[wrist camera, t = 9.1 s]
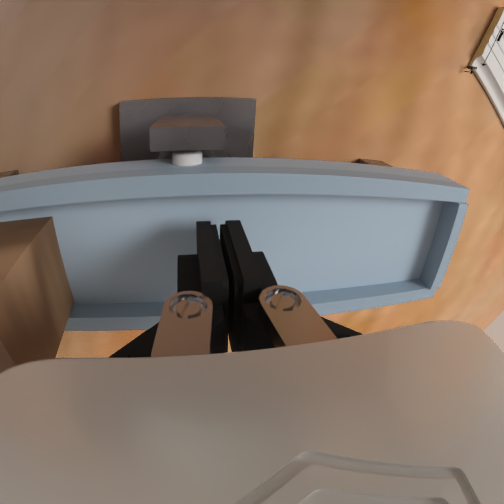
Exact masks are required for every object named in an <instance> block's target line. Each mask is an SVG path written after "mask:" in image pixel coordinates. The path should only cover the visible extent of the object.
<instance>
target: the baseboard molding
mask: <svg viewBox="0 0 504 504" xmlns="http://www.w3.org/2000/svg"><path fill="white" fill-rule="evenodd" d="M469 65H470V66H469ZM469 65H468V66H469V67H470V68H471V69H472V70H473V72H474V73H475V75H476V76H477V78H478V80H479V81H480V83H481V84H482V86H483V88H484V90H485V91H486V93H487V95H488V97H489V98H490V100H491V102H492V104H493V106H494V108H495V109H496V111H497V113H498V115H499V117H500V119H501V121H502V123H503V125H504V7H499V8H498V9H497V11H496V13H495V15H494V17H493V20H492V22H491V24H490V26H489V28H488V30H487V32H486V34H485V36H484V37H483V39H482V41H481V43H480V45H479V47H478V49H477V51H476V53H475V55H474V56H473V58H472V60H471V62H470V64H469ZM468 66H467V68H468V69H470V68H469V67H468ZM465 72H468V71H465ZM473 72H472V71H471V73H473ZM471 73H470V74H471Z"/></svg>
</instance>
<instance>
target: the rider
mask: <svg viewBox="0 0 504 504" xmlns="http://www.w3.org/2000/svg"><path fill="white" fill-rule="evenodd" d="M74 302H75V301H74V298H73V295H72V292H71V288H70V285H69V282H68V278H67V275H66V271H65V268H64V264H63V260H62V256H61V252H60V248H59V244H58V240H57V236H56V231H55V227H54V222H53V217H52V216H51V217H41V218H32V219H23V220H14V221H6V222H0V372H2V371H4V370H6V369H8V368H10V367H13V366H16V365H19V364H23V363H26V362H29V361H36V360H42V359H53V358H55V357H56V354H57V351H58V348H59V344H60V341H61V338H62V335H63V332H64V329H65V327H66V324H67V321H68V318H69V315H70V313H71V310H72V307H73V305H74Z"/></svg>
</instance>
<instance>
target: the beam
mask: <svg viewBox="0 0 504 504" xmlns="http://www.w3.org/2000/svg"><path fill="white" fill-rule="evenodd" d="M468 193H469V189H468V188H466V187H464V186H463V185H461V184H459V183H457V182H455V181H453V180H451V179H449V178H447V177H445V176H443V175H441V174H439V173H433V172H426V171H419V170H412V169H404V168H396V167H388V166H379V165H370V164H360V163H348V162H336V161H322V160H305V159H284V158H238V157H222V158H202V151H198V150H181V151H175V152H173V153H172V159H155V160H139V161H125V162H113V163H102V164H92V165H83V166H74V167H66V168H58V169H51V170H44V171H37V172H31V173H25V174H19V175H13V176H8V177H2V178H0V222H6V221H14V220H23V219H32V218H41V217H51V216H52V217H53V222H54V227H55V231H56V236H57V240H58V244H59V248H60V252H61V256H62V260H63V264H64V268H65V271H66V275H67V278H68V282H69V285H70V288H71V292H72V295H73V298H74V301H75V302H74V305H73V307H72V310H71V313H70V315H69V318H68V321H67V324H66V327H65V329H64V330H71V331H113V330H148V329H150V328H151V327H152V326H154V325H155V324H157V323H158V322H159V321H160V317H161V313H162V309H163V306H164V303H165V301H166V300H167V299H168V298H169V297H170V296H171V295H173V294H175V293H177V257H178V255H189V254H197V239H196V221H211V225H214V224H216V226H217V231H218V235H219V240H220V224H225V221H226V220H240V221H241V224H242V226H243V229H244V231H245V234H246V237H247V239H248V242H249V244H250V247H251V249H252V252H258V251H262V252H263V253H264V255H265V257H266V259H267V261H268V264H269V266H270V268H271V270H272V273H273V275H274V277H275V279H276V281H277V284H278V285H283V286H289V287H292V288H295V289H297V290H298V291H300V292H301V293H302V294H303V295H304V296H305V297H306V299H307V300H308V301H309V303H310V304H311V305H312V306H313V308H314V309H315V310H316V312H317V313H318V314H319V315H320V316H321V315H328V314H336V313H343V312H350V311H356V310H363V309H369V308H376V307H382V306H388V305H394V304H399V303H405V302H410V301H416V300H421V299H426V298H432V297H433V295H434V293H435V291H436V289H439V288H440V285H441V283H442V280H443V278H444V275H445V273H446V270H447V267H448V265H449V262H450V259H451V257H452V254H453V251H454V248H455V245H456V243H457V240H458V237H459V234H460V230H461V227H462V224H463V221H464V218H465V214H466V211H467V207H468V204H467V203H466V201H467V197H468Z"/></svg>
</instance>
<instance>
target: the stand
mask: <svg viewBox="0 0 504 504" xmlns="http://www.w3.org/2000/svg"><path fill="white" fill-rule="evenodd" d="M255 110H256V99H251V98H224V97H187V98H160V99H144V100H131V101H121V102H119V116H120V148H121V162H125V161H139V160H155V159H172V153H173V152H175V151H181V150H198V151H202V158H222V157H238V158H252V157H253V141H254V125H255ZM359 163H360V164H370V165H379V166H388V167H392V166H390V165H388V164H386V163H384V162H382V161H376V160H367V159H359ZM13 175H19V174H18V170H14V171H9V172H4V173H0V178H2V177H8V176H13Z"/></svg>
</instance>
